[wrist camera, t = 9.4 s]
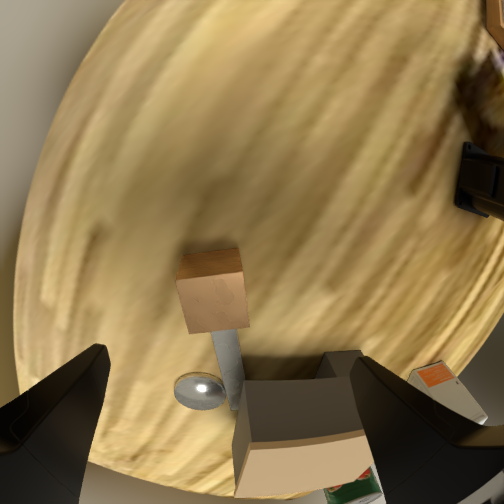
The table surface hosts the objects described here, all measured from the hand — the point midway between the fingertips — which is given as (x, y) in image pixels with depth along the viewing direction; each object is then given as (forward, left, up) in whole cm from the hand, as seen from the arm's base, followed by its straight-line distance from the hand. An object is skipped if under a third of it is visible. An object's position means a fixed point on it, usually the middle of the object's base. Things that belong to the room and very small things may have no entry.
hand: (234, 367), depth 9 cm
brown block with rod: (-1, +9, -12) cm, 15 cm away
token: (+1, +15, -12) cm, 19 cm away
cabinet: (-8, +15, -12) cm, 21 cm away
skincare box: (-27, +16, -12) cm, 34 cm away
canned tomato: (-20, +33, -12) cm, 40 cm away
